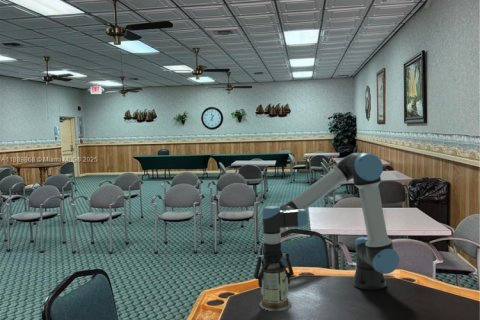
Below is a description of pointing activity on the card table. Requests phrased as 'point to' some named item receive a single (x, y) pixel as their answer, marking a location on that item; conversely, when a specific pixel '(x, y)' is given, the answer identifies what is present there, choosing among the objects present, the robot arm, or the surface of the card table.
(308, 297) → the card table surface
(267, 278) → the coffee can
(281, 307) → the brown domed disc
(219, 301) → the card table surface
